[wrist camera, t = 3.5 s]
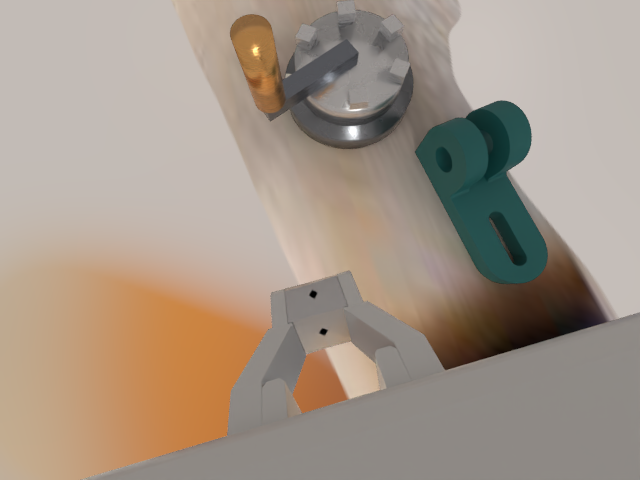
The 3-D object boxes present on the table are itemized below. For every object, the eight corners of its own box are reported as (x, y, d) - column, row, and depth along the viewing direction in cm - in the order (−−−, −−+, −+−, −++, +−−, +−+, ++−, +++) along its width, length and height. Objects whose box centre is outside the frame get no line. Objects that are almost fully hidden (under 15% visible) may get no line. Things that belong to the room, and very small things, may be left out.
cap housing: (425, 130, 34) (432, 119, 32) (305, 162, 33) (303, 153, 31) (386, 28, 36) (390, 11, 34) (273, 57, 36) (270, 41, 34)
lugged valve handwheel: (358, 17, 34) (376, -123, 22) (422, 88, 32) (477, -24, 21) (237, 94, 32) (189, -13, 21) (297, 173, 31) (281, 104, 19)
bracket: (414, 152, 34) (441, 111, 26) (464, 131, 34) (506, 85, 26) (488, 293, 31) (545, 295, 23) (543, 269, 31) (616, 262, 23)
